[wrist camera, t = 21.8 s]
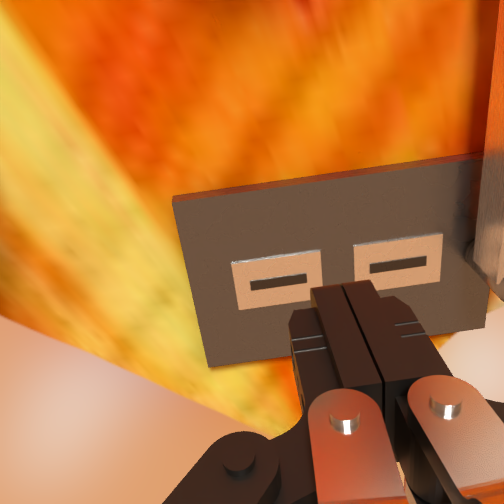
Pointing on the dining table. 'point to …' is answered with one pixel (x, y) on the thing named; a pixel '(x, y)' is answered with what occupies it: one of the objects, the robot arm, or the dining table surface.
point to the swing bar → (492, 182)
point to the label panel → (331, 250)
